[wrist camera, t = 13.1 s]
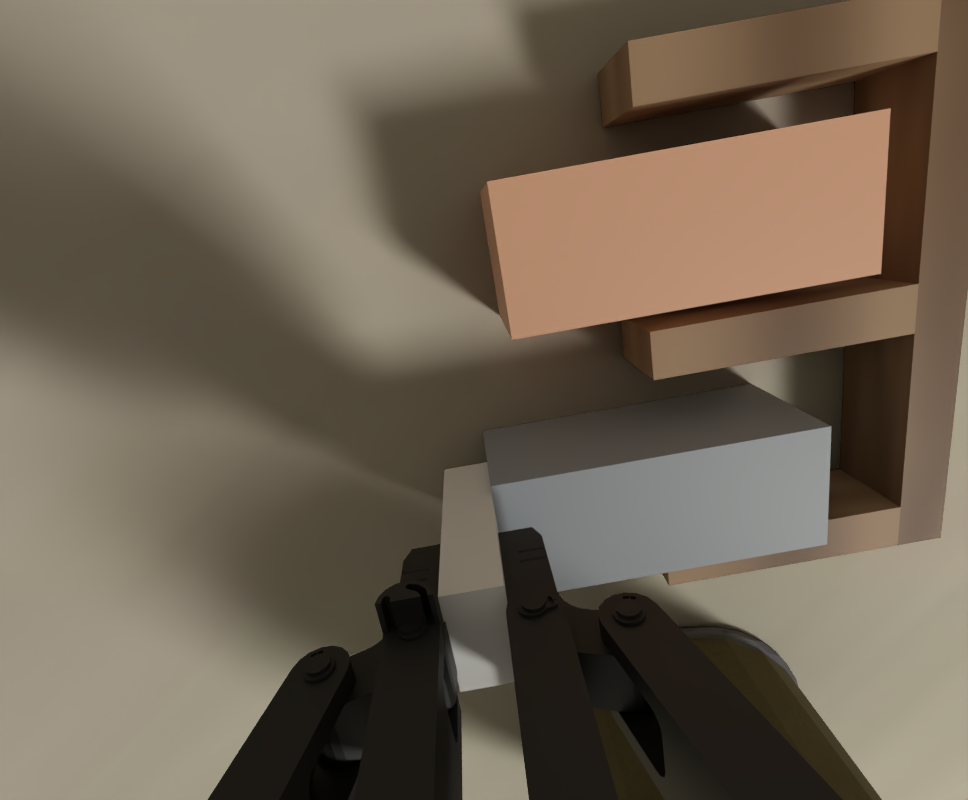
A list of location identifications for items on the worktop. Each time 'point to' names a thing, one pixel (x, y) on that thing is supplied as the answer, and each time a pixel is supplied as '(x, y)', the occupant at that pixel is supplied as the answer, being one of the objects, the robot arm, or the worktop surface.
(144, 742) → the worktop surface
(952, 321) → the comb rack
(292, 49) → the worktop surface
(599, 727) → the canister
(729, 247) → the terracotta bar
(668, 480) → the slate bar
